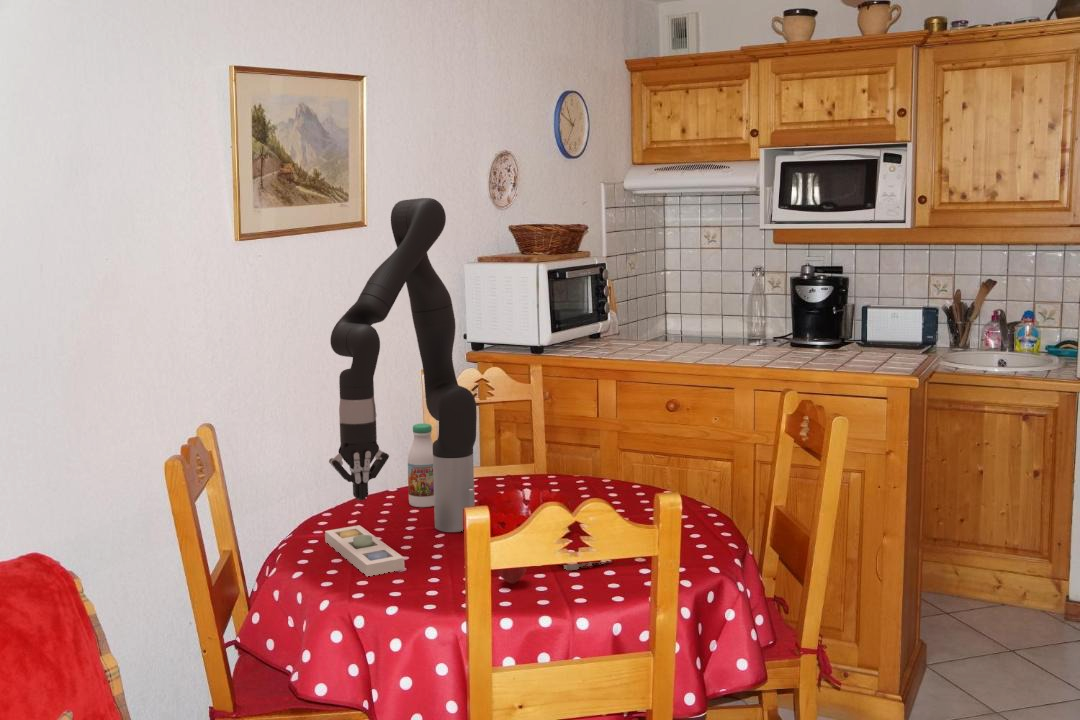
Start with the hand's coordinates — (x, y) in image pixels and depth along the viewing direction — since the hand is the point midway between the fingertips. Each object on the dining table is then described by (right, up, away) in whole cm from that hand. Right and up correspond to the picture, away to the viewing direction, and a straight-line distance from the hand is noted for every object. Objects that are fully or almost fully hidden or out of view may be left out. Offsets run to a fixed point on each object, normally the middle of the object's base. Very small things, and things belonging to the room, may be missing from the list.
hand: (360, 499), depth 221 cm
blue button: (+5, -13, -6) cm, 14 cm away
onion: (+32, -15, -16) cm, 39 cm away
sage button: (0, -10, +2) cm, 10 cm away
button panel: (0, -12, +2) cm, 12 cm away
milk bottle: (+9, -7, +40) cm, 42 cm away
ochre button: (-4, -10, +9) cm, 14 cm away
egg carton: (+46, -13, -5) cm, 48 cm away
